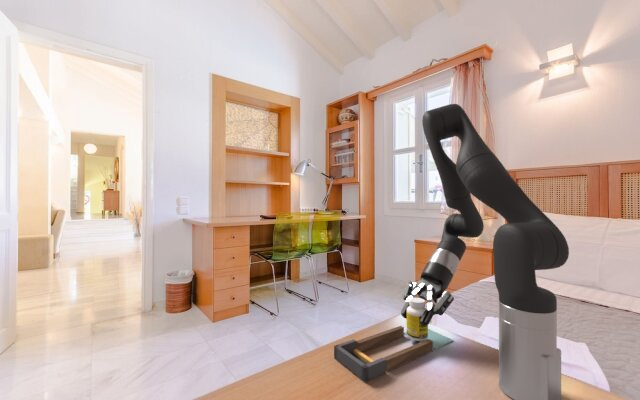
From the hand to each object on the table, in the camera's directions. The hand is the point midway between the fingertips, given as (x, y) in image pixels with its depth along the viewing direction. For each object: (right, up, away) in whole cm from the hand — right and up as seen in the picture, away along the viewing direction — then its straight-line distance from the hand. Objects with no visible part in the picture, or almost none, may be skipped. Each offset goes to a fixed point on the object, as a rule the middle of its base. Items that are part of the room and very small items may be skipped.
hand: (412, 320), depth 77 cm
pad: (+5, -6, +3) cm, 9 cm away
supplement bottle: (+2, -5, +1) cm, 5 cm away
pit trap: (-16, -6, -10) cm, 19 cm away
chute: (-6, -6, -4) cm, 9 cm away
